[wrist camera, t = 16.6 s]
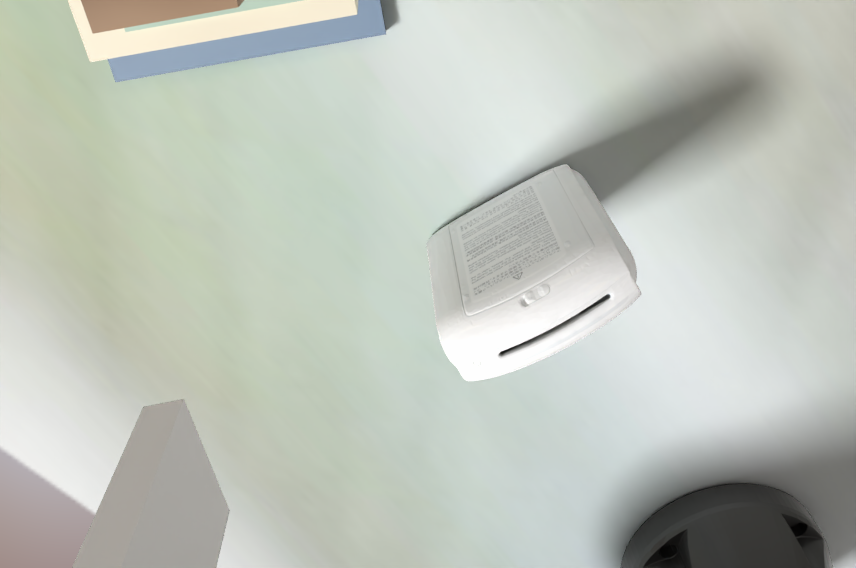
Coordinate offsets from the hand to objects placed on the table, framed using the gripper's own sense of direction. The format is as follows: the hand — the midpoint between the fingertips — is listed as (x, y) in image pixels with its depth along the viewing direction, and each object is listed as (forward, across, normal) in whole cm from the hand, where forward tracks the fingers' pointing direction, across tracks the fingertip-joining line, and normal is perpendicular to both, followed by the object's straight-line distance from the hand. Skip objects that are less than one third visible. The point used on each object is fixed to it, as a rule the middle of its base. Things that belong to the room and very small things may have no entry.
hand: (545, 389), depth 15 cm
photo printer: (+31, -2, +10) cm, 33 cm away
